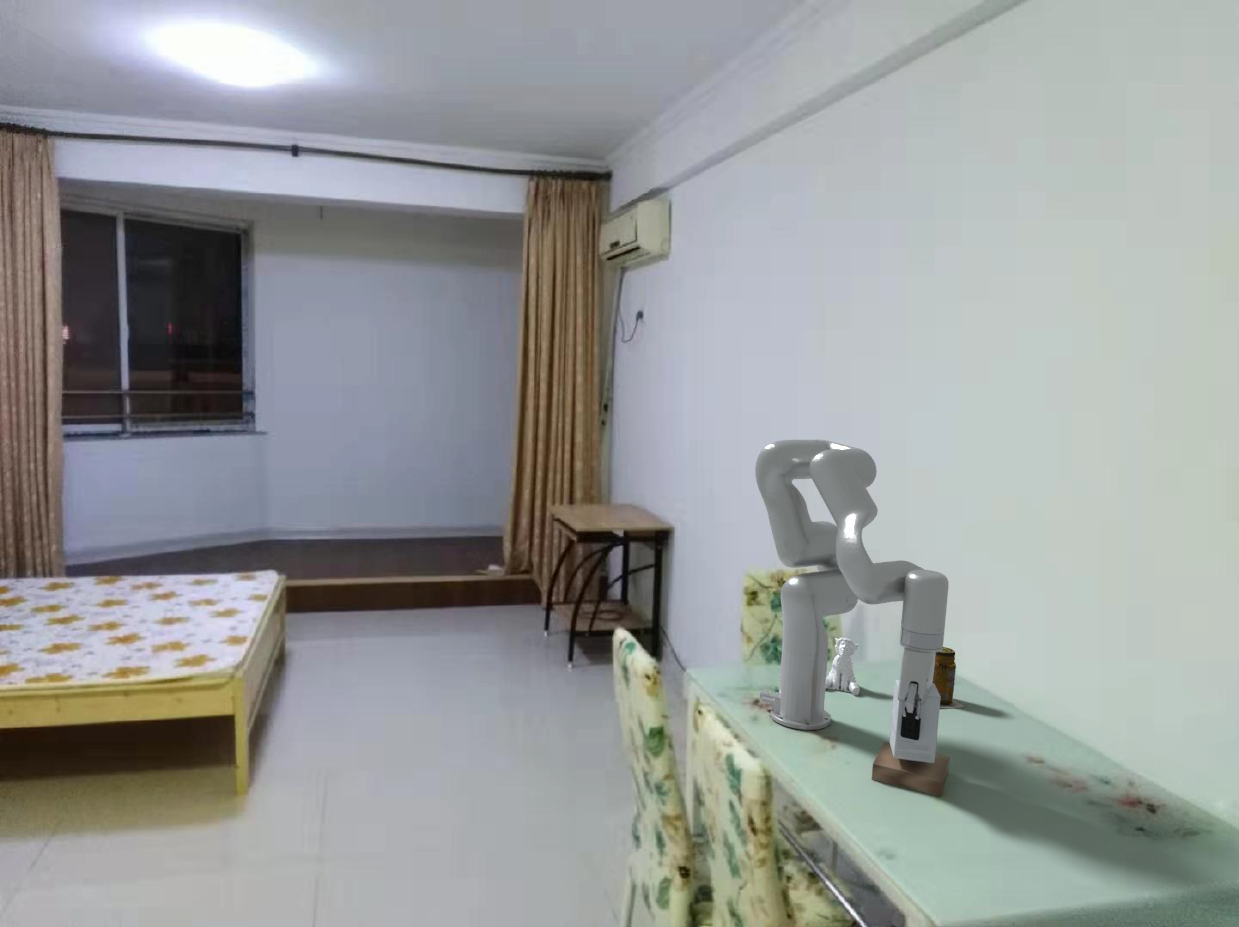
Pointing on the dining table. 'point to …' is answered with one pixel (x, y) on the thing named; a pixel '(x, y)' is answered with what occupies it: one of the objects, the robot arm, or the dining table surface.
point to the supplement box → (928, 728)
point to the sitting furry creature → (843, 668)
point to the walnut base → (910, 771)
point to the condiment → (945, 677)
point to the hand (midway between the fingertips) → (913, 728)
